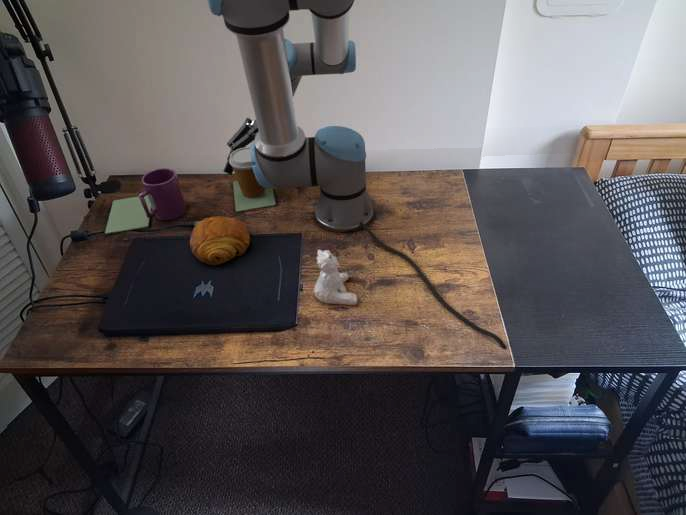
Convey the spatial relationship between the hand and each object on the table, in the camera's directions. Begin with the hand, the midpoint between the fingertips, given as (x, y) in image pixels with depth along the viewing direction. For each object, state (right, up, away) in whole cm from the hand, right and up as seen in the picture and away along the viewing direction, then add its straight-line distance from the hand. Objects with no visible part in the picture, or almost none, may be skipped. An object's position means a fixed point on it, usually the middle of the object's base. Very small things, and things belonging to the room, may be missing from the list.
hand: (244, 180), depth 126 cm
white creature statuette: (+25, -30, -27) cm, 47 cm away
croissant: (-2, -19, -12) cm, 23 cm away
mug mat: (-31, -9, 0) cm, 33 cm away
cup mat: (+2, -3, +5) cm, 6 cm away
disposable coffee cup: (+2, -3, +5) cm, 6 cm away
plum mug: (-21, -9, -1) cm, 23 cm away
